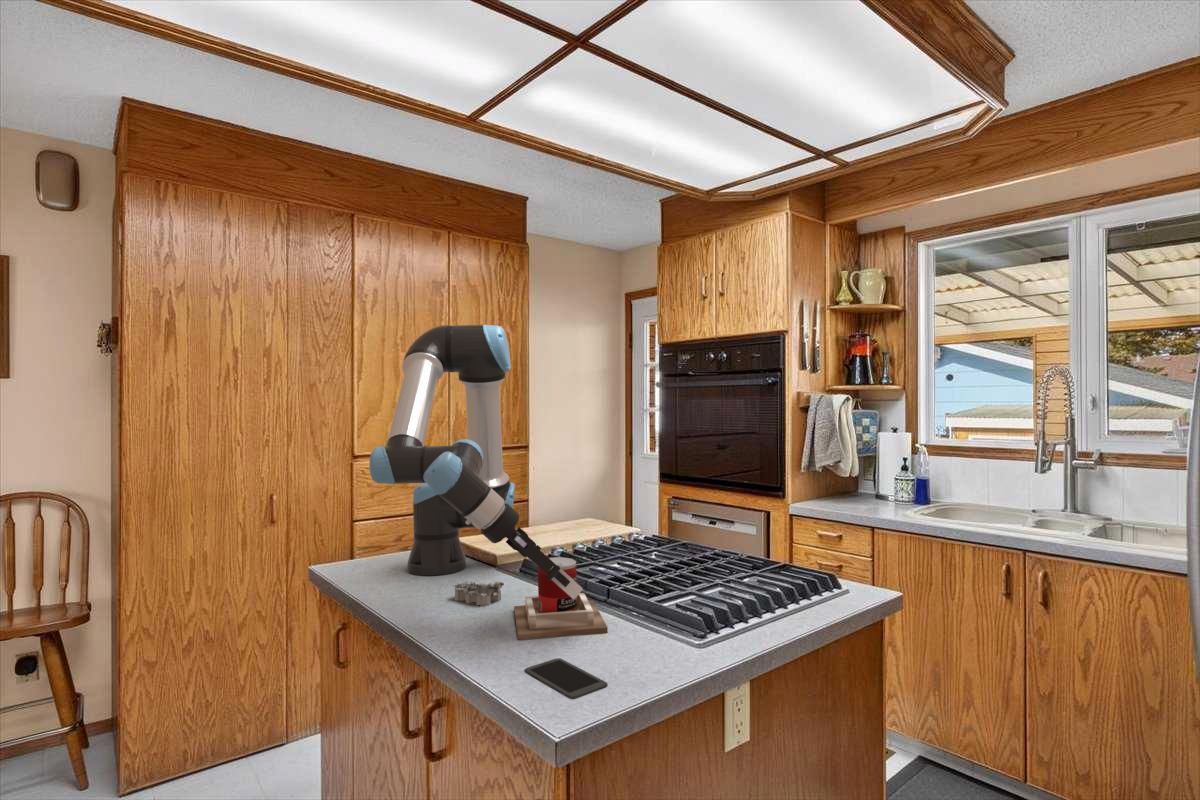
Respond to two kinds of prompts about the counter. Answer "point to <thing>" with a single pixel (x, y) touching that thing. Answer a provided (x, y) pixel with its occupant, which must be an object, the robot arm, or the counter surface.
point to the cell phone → (566, 678)
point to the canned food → (556, 589)
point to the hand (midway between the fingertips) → (567, 584)
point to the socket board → (558, 620)
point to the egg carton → (478, 592)
